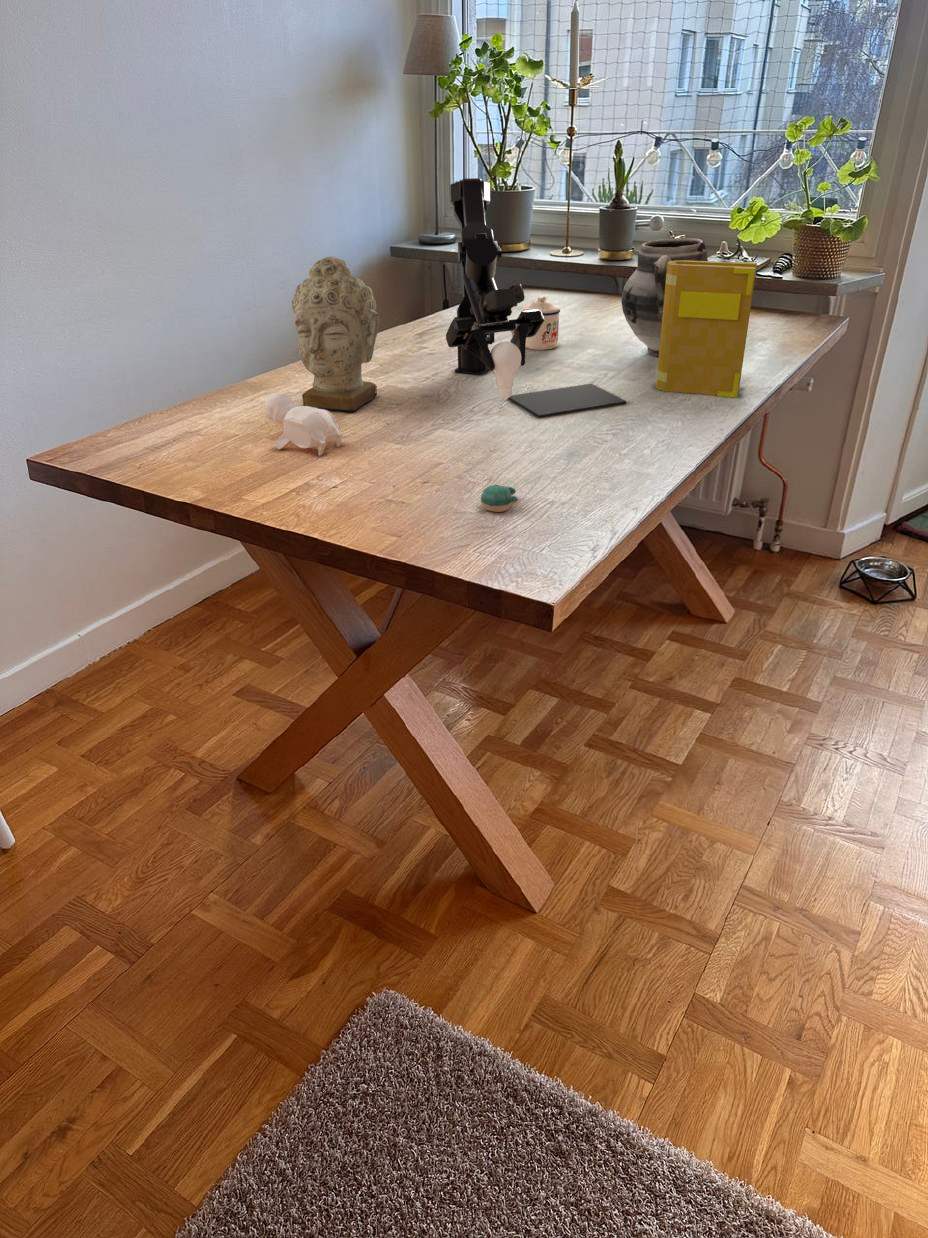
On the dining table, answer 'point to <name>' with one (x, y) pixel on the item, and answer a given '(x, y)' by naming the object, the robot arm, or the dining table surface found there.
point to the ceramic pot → (654, 285)
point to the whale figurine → (498, 498)
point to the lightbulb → (505, 366)
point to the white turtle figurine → (302, 424)
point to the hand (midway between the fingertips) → (508, 367)
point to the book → (704, 326)
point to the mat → (566, 400)
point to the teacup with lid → (544, 325)
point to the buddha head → (335, 335)
